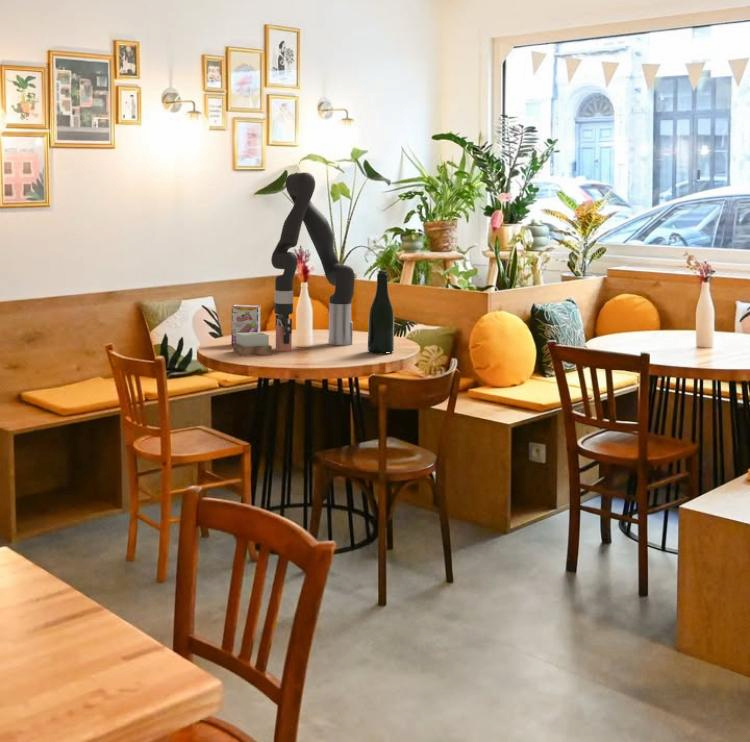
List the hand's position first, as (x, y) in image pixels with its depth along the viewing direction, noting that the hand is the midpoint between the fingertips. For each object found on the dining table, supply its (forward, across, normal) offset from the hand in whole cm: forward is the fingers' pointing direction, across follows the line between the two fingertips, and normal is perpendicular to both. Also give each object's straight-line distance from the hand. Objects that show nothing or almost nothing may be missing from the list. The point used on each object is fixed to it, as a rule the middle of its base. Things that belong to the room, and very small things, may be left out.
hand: (283, 342), depth 431 cm
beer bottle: (+3, -15, -36) cm, 39 cm away
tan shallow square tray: (+4, -4, +14) cm, 15 cm away
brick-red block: (+3, 0, 0) cm, 3 cm away
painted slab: (0, -4, +14) cm, 15 cm away
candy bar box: (+3, +16, +11) cm, 20 cm away
